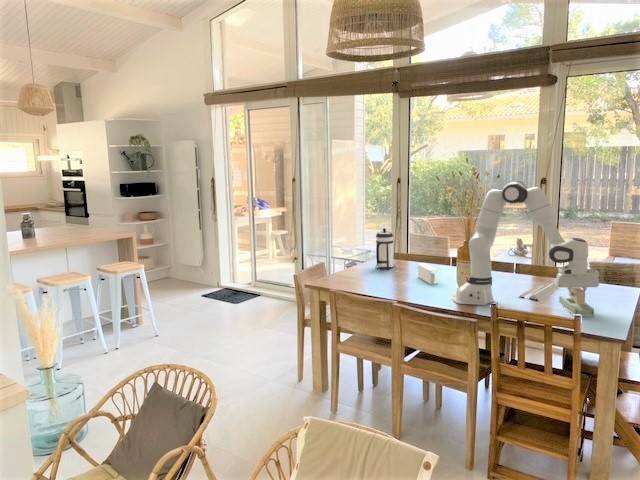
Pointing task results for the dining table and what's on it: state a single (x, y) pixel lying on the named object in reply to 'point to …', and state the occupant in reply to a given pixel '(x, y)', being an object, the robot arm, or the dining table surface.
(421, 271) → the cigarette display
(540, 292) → the crown molding
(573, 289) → the tan rectangular block
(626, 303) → the dining table surface
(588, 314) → the green rectangular tray
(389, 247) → the coffee press
